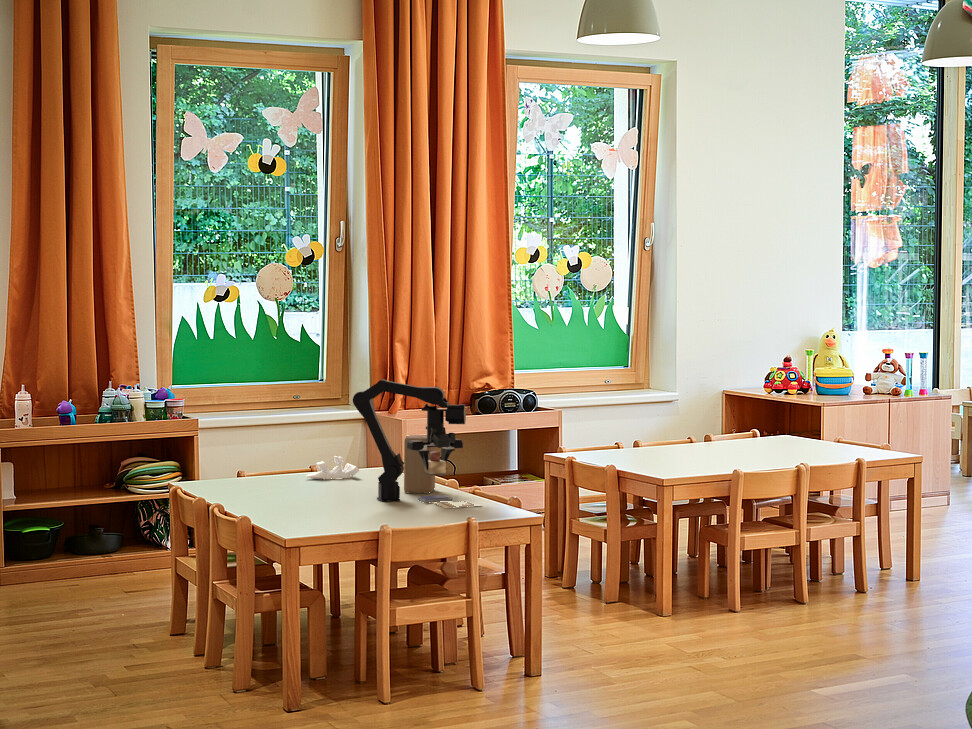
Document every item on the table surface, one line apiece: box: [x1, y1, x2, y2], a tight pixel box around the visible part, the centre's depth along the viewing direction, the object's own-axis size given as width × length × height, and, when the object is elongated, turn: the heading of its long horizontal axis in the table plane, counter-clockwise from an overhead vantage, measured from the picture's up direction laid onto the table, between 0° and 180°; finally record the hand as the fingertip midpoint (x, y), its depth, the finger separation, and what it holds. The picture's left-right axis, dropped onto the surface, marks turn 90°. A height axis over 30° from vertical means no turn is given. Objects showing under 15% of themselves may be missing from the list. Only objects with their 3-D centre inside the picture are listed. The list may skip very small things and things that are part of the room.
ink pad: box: [417, 494, 453, 504], centre depth 390 cm, size 10×7×2 cm
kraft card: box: [434, 500, 475, 509], centre depth 382 cm, size 13×11×1 cm
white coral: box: [305, 455, 361, 480], centre depth 441 cm, size 11×20×9 cm, turn 115°
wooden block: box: [403, 434, 436, 494], centre depth 411 cm, size 10×10×20 cm
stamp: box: [425, 451, 447, 476], centre depth 389 cm, size 6×6×8 cm
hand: (435, 469), depth 390 cm, fingers closed on stamp, 5 cm apart
